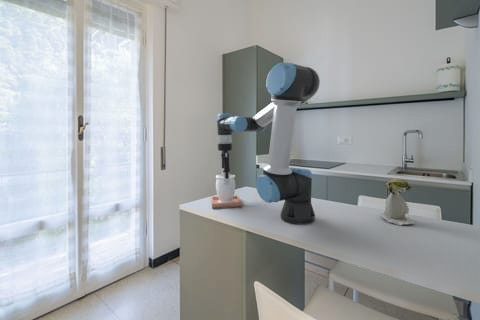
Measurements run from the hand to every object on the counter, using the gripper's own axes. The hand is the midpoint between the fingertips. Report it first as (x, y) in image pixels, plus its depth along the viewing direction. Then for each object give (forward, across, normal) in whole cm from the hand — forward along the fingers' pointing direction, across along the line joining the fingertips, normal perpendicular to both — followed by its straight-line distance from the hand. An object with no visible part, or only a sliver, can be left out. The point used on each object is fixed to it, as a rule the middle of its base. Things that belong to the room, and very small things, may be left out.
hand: (225, 182), depth 135 cm
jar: (+12, 0, 0) cm, 12 cm away
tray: (+12, 0, 0) cm, 12 cm away
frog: (+13, -39, -72) cm, 83 cm away
